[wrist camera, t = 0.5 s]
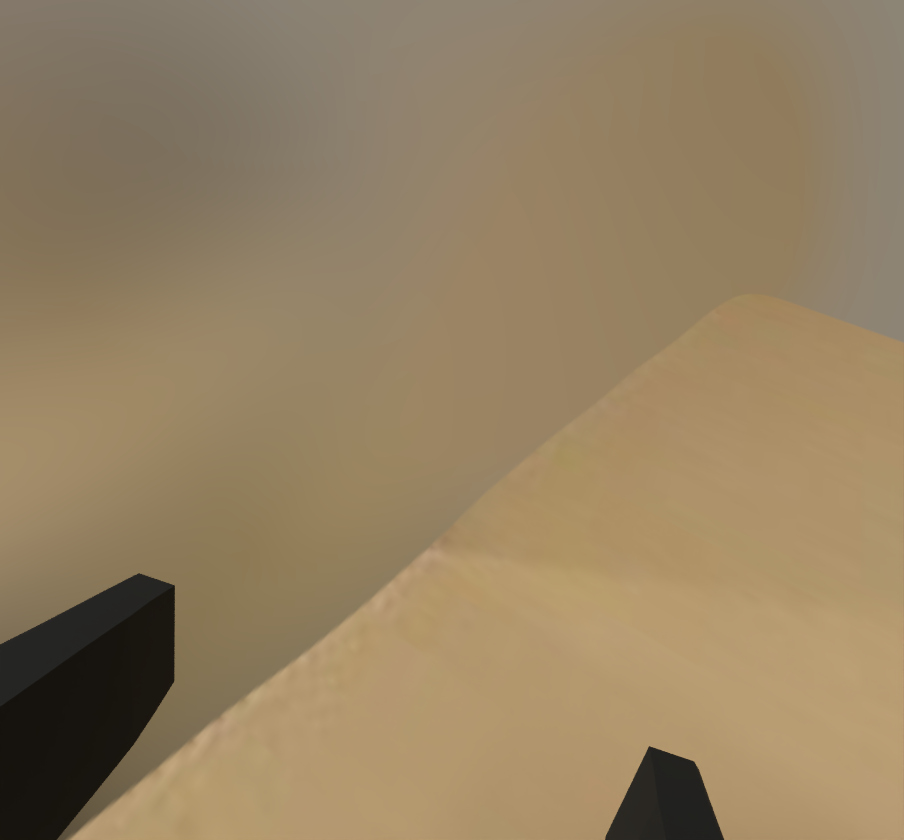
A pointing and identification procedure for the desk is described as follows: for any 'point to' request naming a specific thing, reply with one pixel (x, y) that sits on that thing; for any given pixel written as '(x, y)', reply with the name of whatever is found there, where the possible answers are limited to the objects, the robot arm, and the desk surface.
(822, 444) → the desk surface
